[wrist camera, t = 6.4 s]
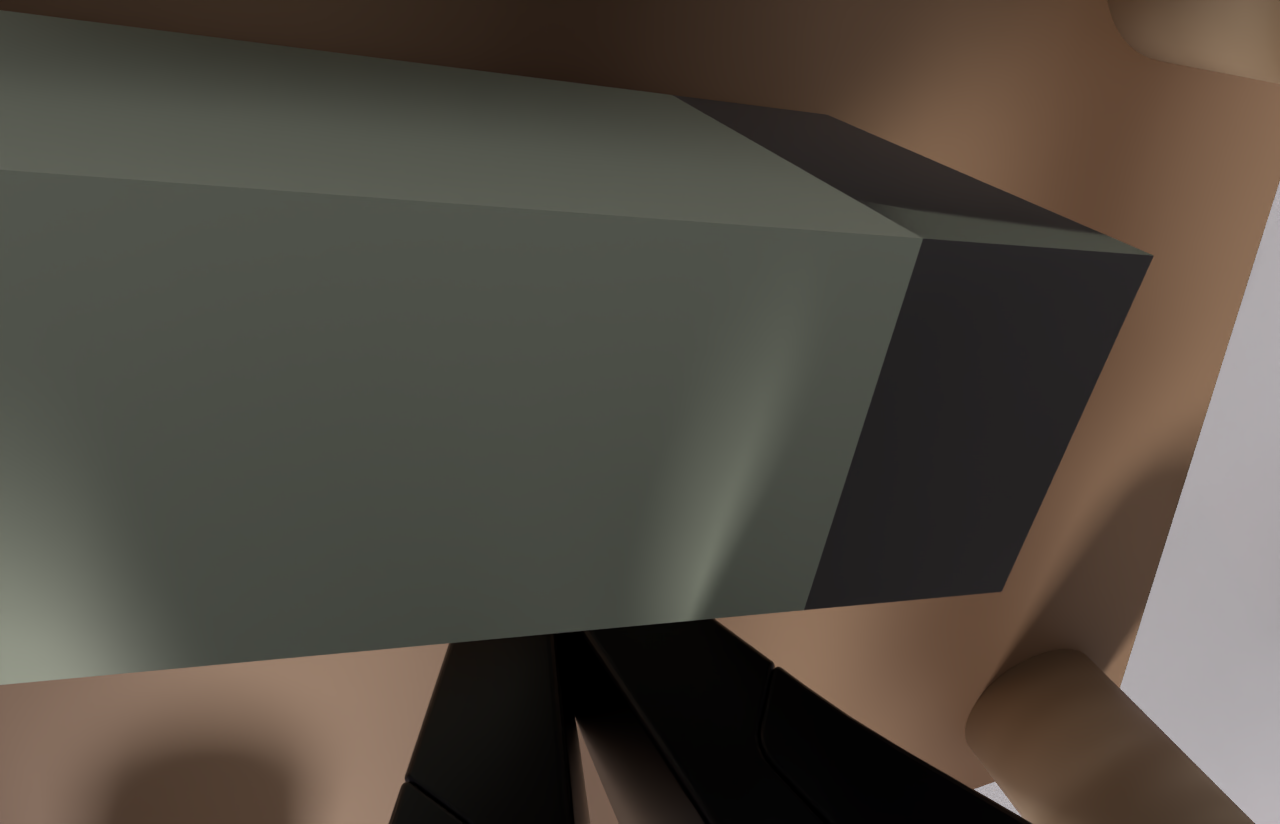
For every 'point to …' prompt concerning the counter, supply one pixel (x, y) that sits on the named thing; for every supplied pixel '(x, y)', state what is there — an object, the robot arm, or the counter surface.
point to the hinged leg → (494, 356)
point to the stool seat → (830, 637)
